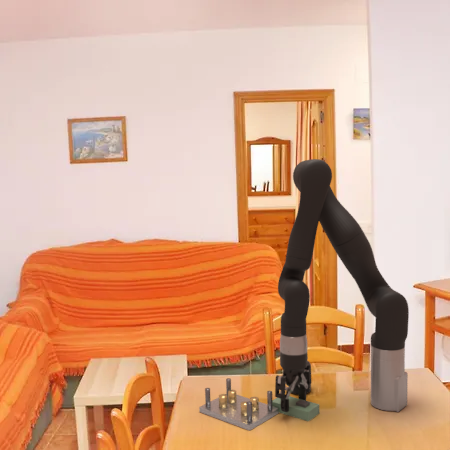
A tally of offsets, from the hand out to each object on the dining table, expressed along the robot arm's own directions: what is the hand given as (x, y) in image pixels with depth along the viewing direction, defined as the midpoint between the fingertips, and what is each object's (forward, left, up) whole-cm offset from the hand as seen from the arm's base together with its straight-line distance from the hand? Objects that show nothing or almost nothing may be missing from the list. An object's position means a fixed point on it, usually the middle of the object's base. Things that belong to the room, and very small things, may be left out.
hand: (293, 406), depth 154 cm
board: (0, 0, -2) cm, 2 cm away
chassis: (+12, +10, -2) cm, 16 cm away
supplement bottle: (+7, -13, -2) cm, 15 cm away
